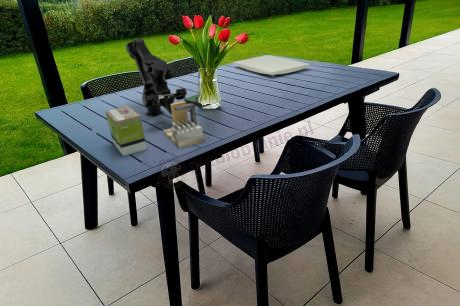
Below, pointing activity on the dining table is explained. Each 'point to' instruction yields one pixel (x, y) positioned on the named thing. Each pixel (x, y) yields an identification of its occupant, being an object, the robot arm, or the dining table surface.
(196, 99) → the disk drive
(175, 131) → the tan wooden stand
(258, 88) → the dining table surface
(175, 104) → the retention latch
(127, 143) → the tea box
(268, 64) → the board
